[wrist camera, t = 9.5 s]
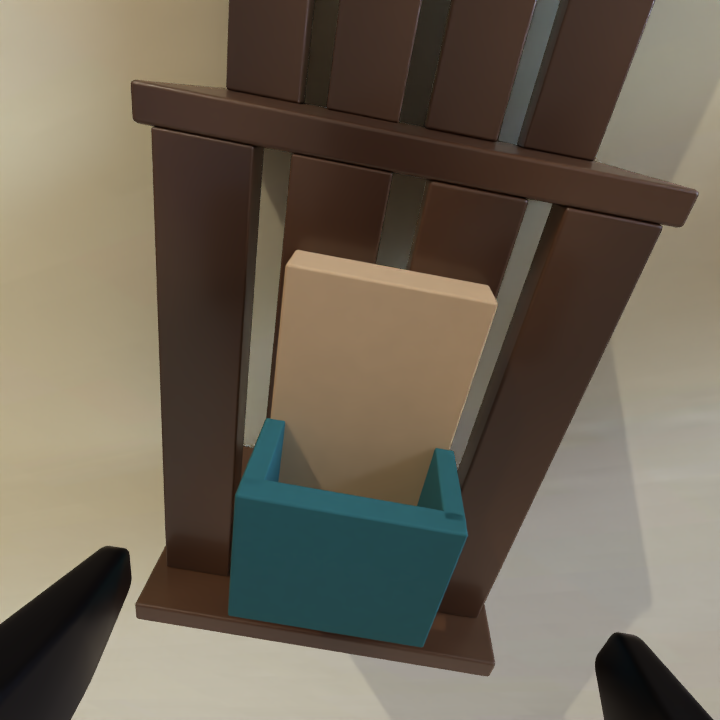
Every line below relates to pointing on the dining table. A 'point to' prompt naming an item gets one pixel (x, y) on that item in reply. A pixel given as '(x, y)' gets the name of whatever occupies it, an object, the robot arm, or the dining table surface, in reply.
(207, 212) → the shoe rack
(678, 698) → the robot arm
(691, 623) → the dining table surface
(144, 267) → the dining table surface
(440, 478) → the wall mail holder
